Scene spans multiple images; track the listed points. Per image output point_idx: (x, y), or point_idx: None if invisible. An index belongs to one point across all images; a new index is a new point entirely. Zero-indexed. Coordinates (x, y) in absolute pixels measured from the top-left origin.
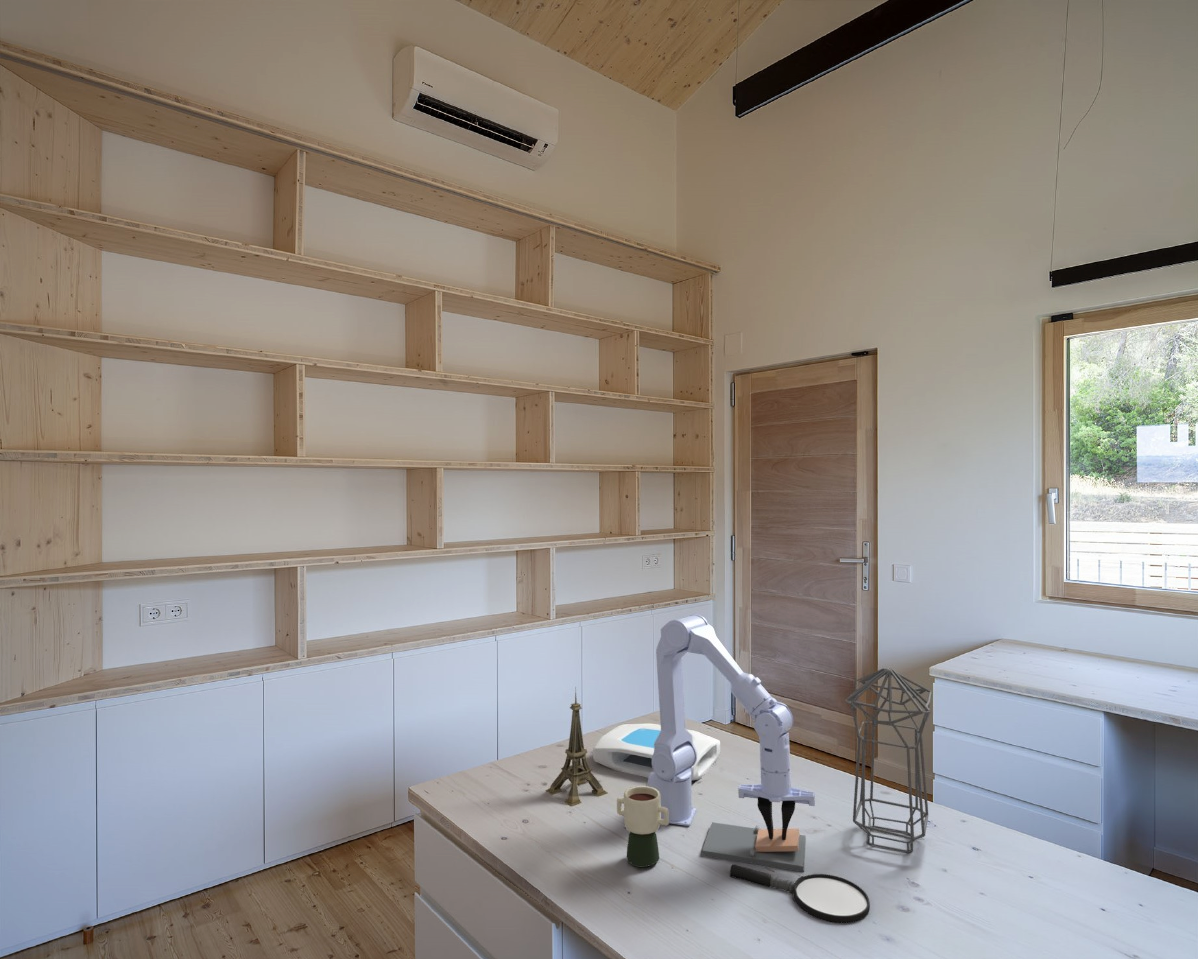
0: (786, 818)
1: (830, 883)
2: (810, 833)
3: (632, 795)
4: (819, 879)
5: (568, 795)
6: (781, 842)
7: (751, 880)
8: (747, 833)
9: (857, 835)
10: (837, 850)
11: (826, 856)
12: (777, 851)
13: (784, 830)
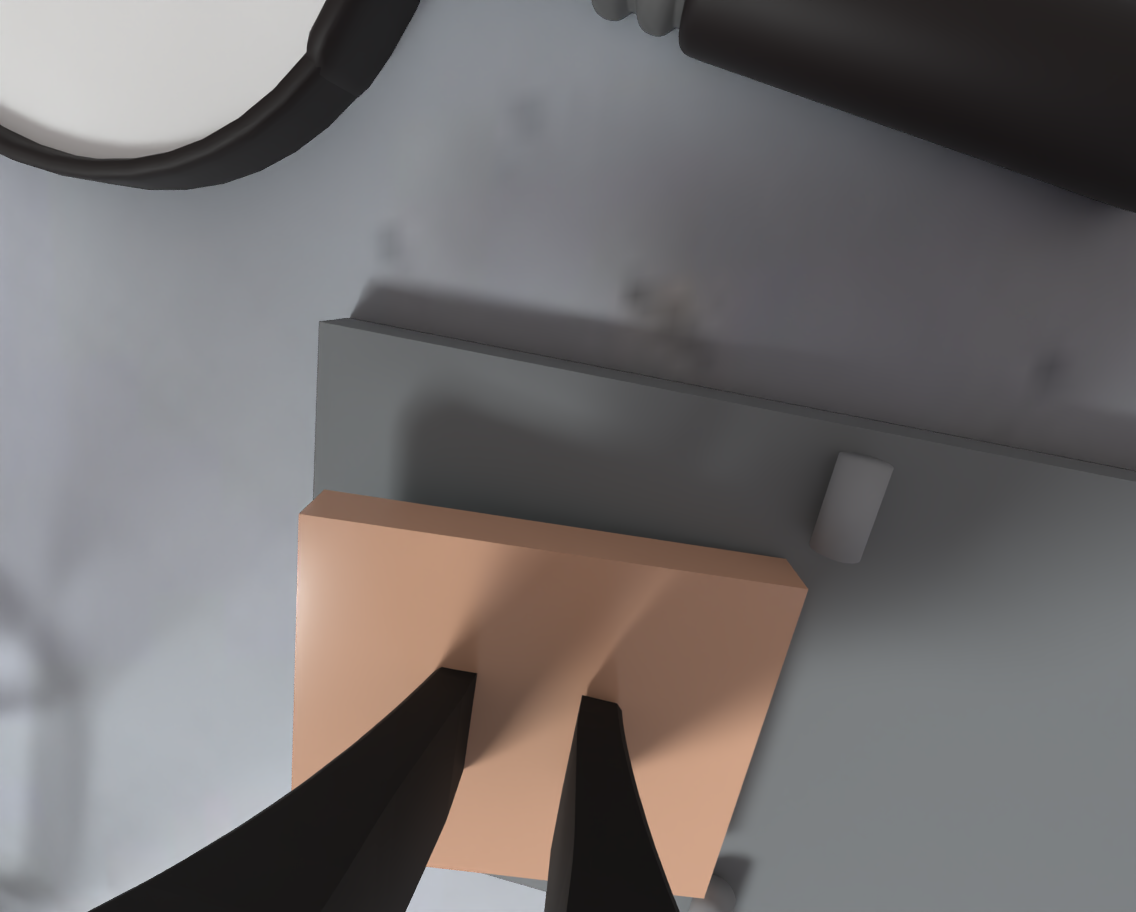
0: (225, 891)
1: (87, 60)
2: None
3: None
4: (184, 116)
5: None
6: (488, 618)
7: None
8: (807, 872)
9: (10, 833)
10: (109, 662)
11: (176, 580)
12: None
13: (396, 736)
